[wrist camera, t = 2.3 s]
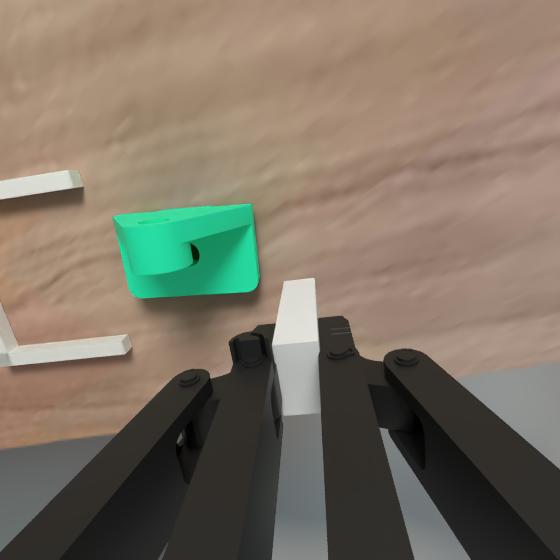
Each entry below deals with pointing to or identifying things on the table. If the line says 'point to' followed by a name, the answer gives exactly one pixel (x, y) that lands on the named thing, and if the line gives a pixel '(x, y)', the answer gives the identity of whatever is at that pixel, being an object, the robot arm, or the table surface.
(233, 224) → the camera mount
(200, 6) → the table surface
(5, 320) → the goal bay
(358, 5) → the table surface
